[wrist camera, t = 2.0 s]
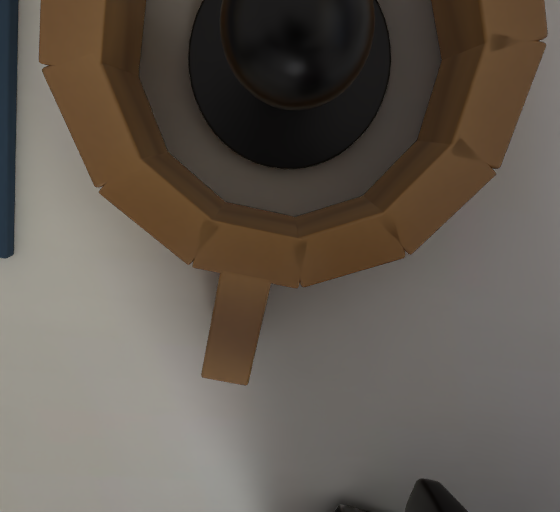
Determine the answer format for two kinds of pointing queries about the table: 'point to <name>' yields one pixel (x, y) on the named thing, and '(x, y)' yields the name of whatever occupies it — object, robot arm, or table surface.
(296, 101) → the peg stand
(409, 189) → the hoop
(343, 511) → the graphics card box
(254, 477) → the table surface
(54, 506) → the table surface
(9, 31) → the mat
